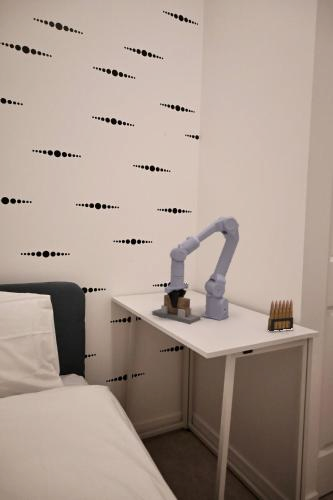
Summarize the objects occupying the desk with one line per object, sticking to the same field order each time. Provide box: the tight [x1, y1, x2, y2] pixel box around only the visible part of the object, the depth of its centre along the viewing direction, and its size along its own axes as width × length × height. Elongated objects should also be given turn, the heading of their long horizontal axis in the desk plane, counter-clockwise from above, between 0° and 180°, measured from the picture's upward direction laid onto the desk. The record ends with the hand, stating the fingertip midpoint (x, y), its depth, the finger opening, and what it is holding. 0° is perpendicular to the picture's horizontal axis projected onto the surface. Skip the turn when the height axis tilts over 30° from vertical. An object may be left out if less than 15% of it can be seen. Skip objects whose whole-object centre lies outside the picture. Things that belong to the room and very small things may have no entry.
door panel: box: [163, 293, 191, 316], centre depth 135 cm, size 12×3×7 cm, turn 52°
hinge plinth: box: [151, 304, 202, 325], centre depth 136 cm, size 20×8×4 cm, turn 52°
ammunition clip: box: [267, 299, 294, 332], centre depth 122 cm, size 11×2×12 cm, turn 110°
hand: (176, 307), depth 136 cm, fingers closed on door panel, 2 cm apart
